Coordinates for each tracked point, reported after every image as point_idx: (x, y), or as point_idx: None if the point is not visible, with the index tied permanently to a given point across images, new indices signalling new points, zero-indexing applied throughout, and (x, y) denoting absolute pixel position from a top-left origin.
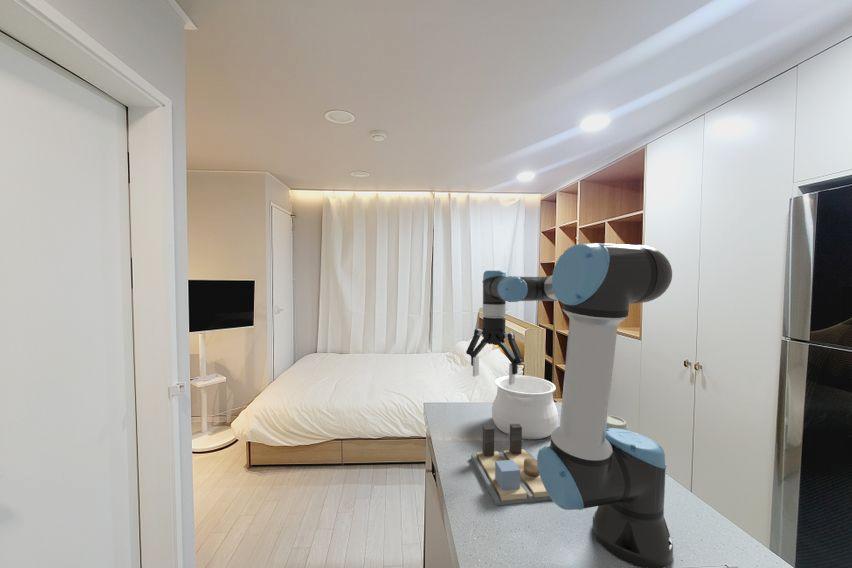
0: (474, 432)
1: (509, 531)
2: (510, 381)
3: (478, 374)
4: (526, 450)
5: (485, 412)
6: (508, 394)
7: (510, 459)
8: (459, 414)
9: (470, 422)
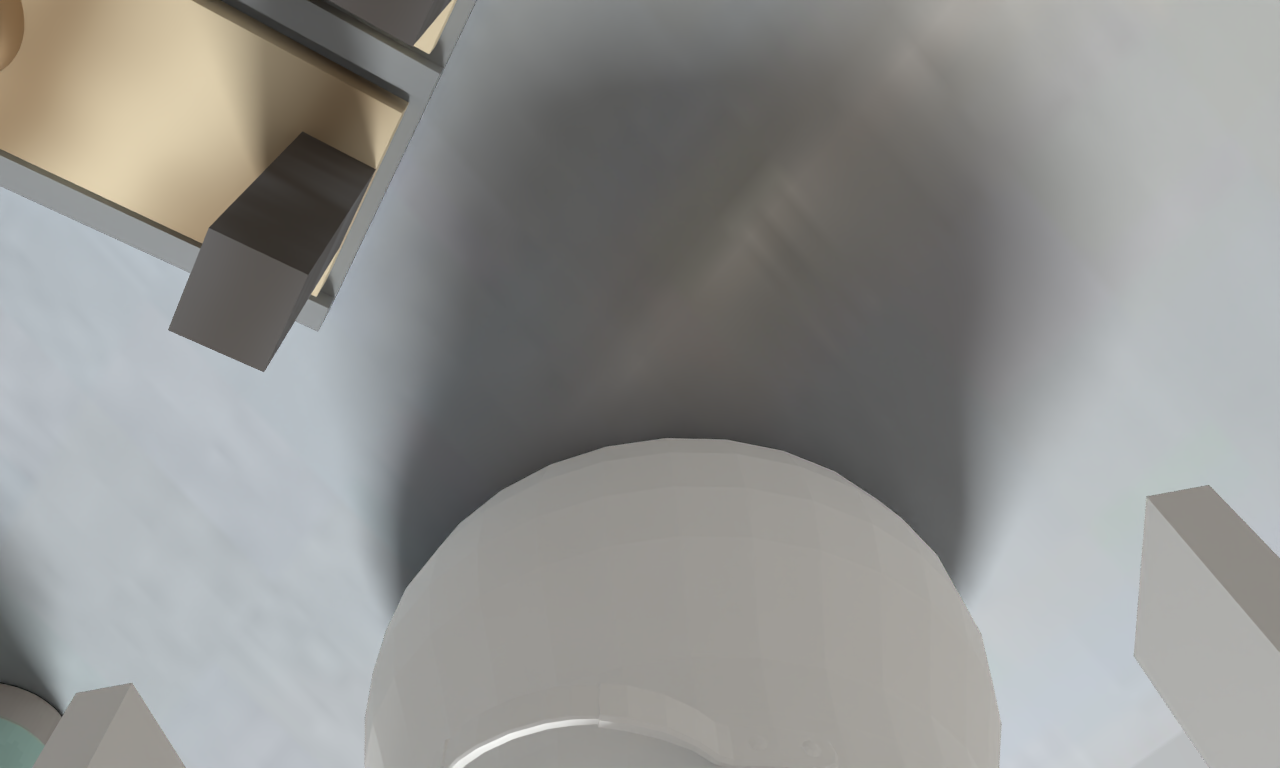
0: (920, 245)
1: None
2: (52, 755)
3: (1142, 657)
4: (314, 312)
5: (1078, 604)
6: (682, 736)
7: (235, 31)
8: (1265, 405)
9: (1076, 365)
